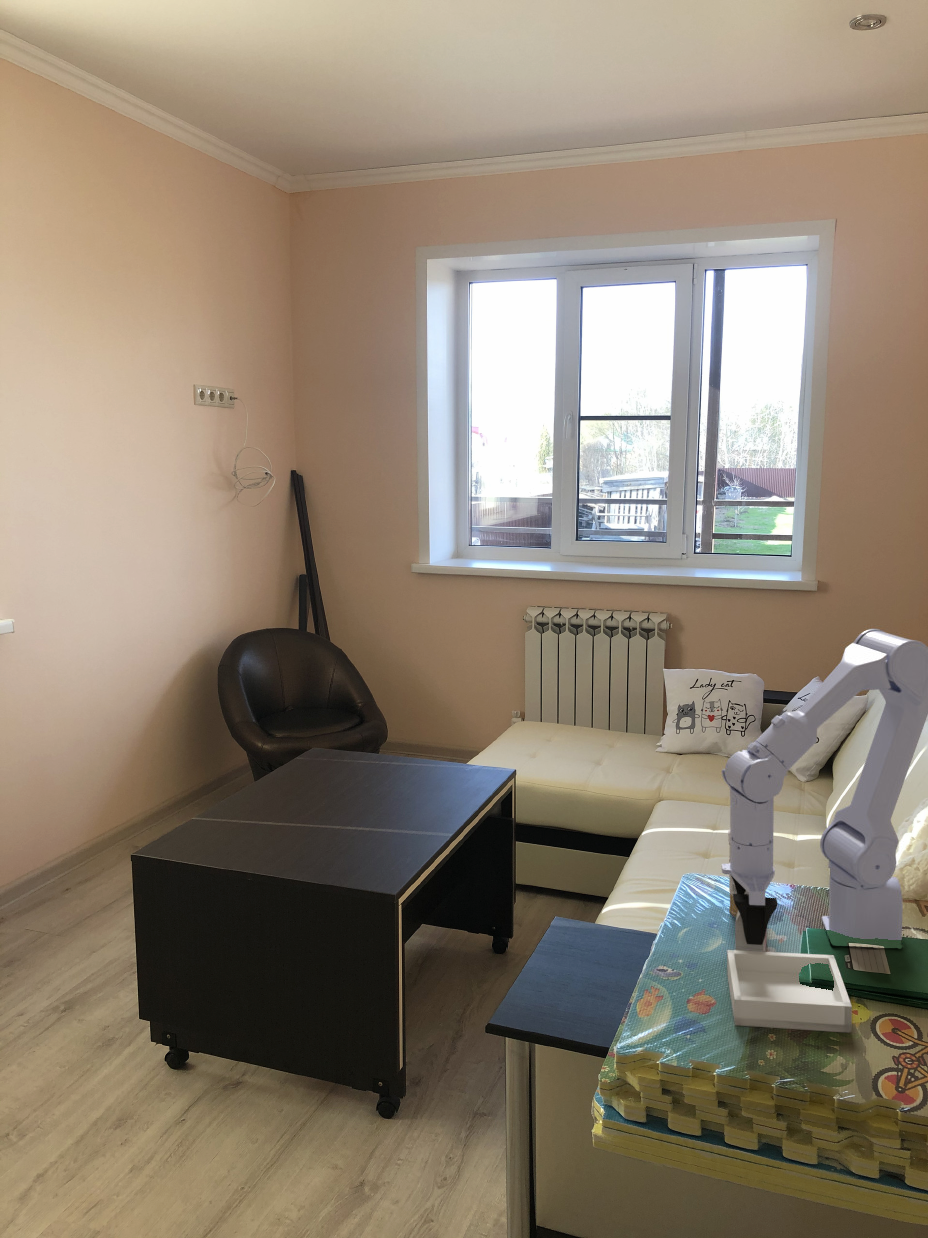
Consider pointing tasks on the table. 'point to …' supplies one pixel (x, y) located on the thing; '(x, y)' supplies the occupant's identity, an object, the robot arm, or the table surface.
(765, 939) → the white gable-top carton
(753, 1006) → the bin
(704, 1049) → the table surface
